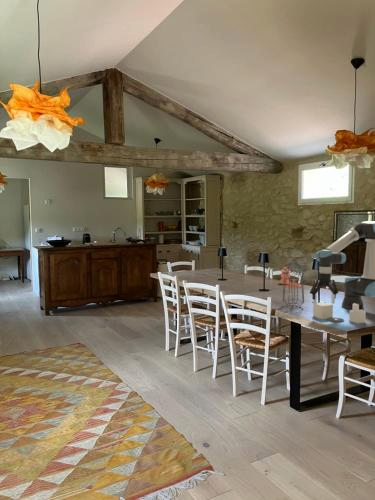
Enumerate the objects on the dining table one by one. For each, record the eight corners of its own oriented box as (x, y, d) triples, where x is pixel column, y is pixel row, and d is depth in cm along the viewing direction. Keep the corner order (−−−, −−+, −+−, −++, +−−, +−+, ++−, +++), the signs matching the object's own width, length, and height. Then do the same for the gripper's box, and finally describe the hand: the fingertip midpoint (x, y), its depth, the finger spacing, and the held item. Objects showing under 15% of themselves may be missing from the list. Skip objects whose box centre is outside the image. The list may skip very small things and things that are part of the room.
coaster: (338, 318, 264) (338, 316, 264) (347, 321, 254) (347, 320, 254) (324, 318, 261) (324, 317, 261) (333, 322, 252) (333, 321, 252)
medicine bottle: (356, 320, 258) (357, 302, 257) (365, 322, 252) (366, 304, 251) (348, 321, 256) (349, 303, 255) (357, 323, 249) (357, 305, 248)
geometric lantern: (289, 310, 287) (290, 263, 285) (278, 306, 302) (279, 261, 300) (308, 309, 291) (309, 262, 289) (296, 304, 306) (297, 260, 304)
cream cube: (323, 315, 272) (323, 302, 272) (332, 318, 264) (332, 304, 263) (312, 316, 269) (313, 303, 268) (321, 319, 261) (321, 306, 260)
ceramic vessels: (309, 290, 371) (309, 270, 370) (288, 291, 367) (289, 271, 366) (292, 284, 406) (292, 266, 404) (273, 285, 401) (273, 266, 400)
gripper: (338, 271, 270) (337, 302, 271) (305, 272, 265) (304, 303, 266) (344, 273, 263) (343, 304, 264) (311, 273, 257) (310, 305, 259)
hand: (323, 303), depth 265 cm, fingers open, 13 cm apart
